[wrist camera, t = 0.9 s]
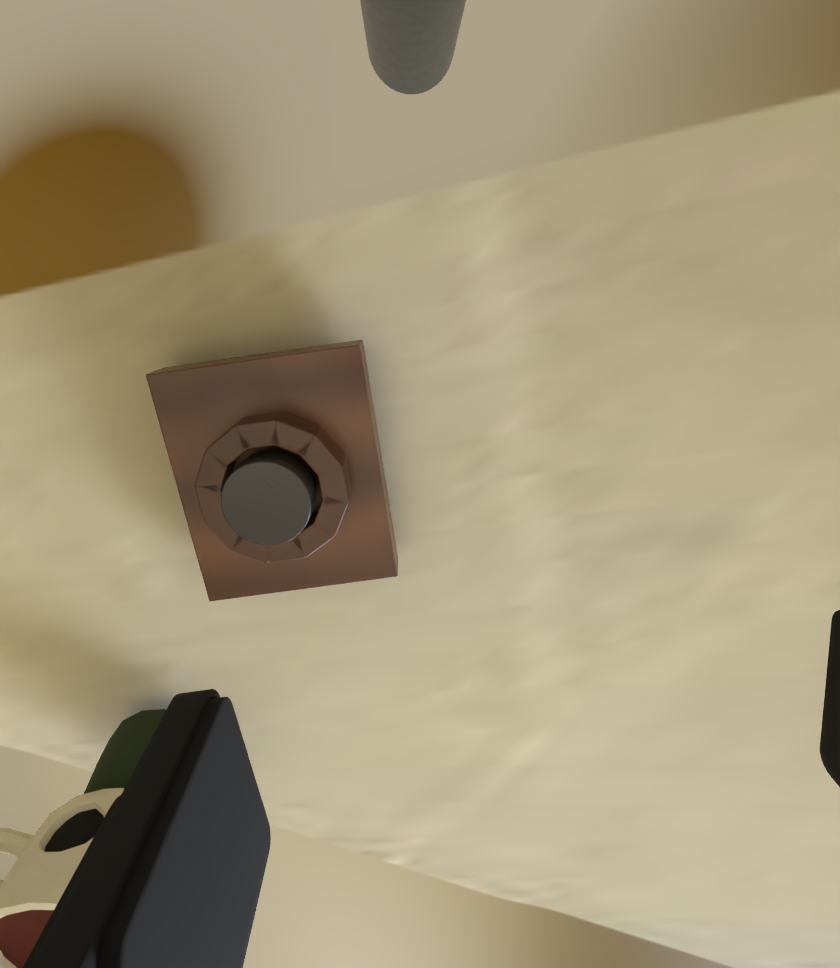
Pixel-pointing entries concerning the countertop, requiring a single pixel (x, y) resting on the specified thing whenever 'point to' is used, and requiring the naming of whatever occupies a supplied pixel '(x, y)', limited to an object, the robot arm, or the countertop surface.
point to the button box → (288, 429)
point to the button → (268, 498)
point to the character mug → (63, 842)
